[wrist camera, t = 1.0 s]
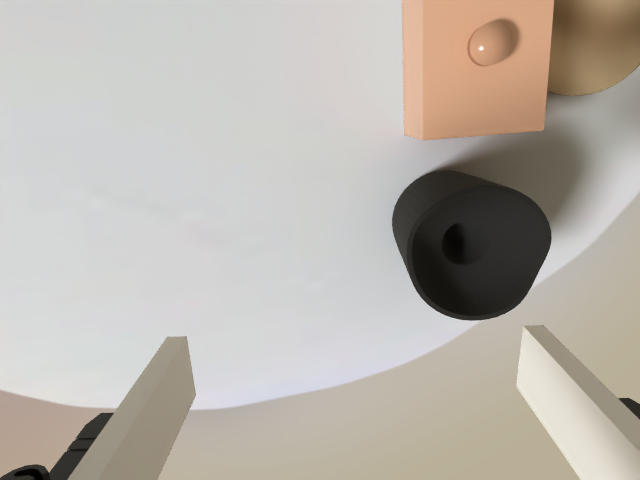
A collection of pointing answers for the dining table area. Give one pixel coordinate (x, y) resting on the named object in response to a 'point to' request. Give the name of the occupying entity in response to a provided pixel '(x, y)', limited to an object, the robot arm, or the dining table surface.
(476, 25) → the tan block with knob
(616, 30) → the cork trivet
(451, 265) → the pen holder
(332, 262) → the dining table surface
